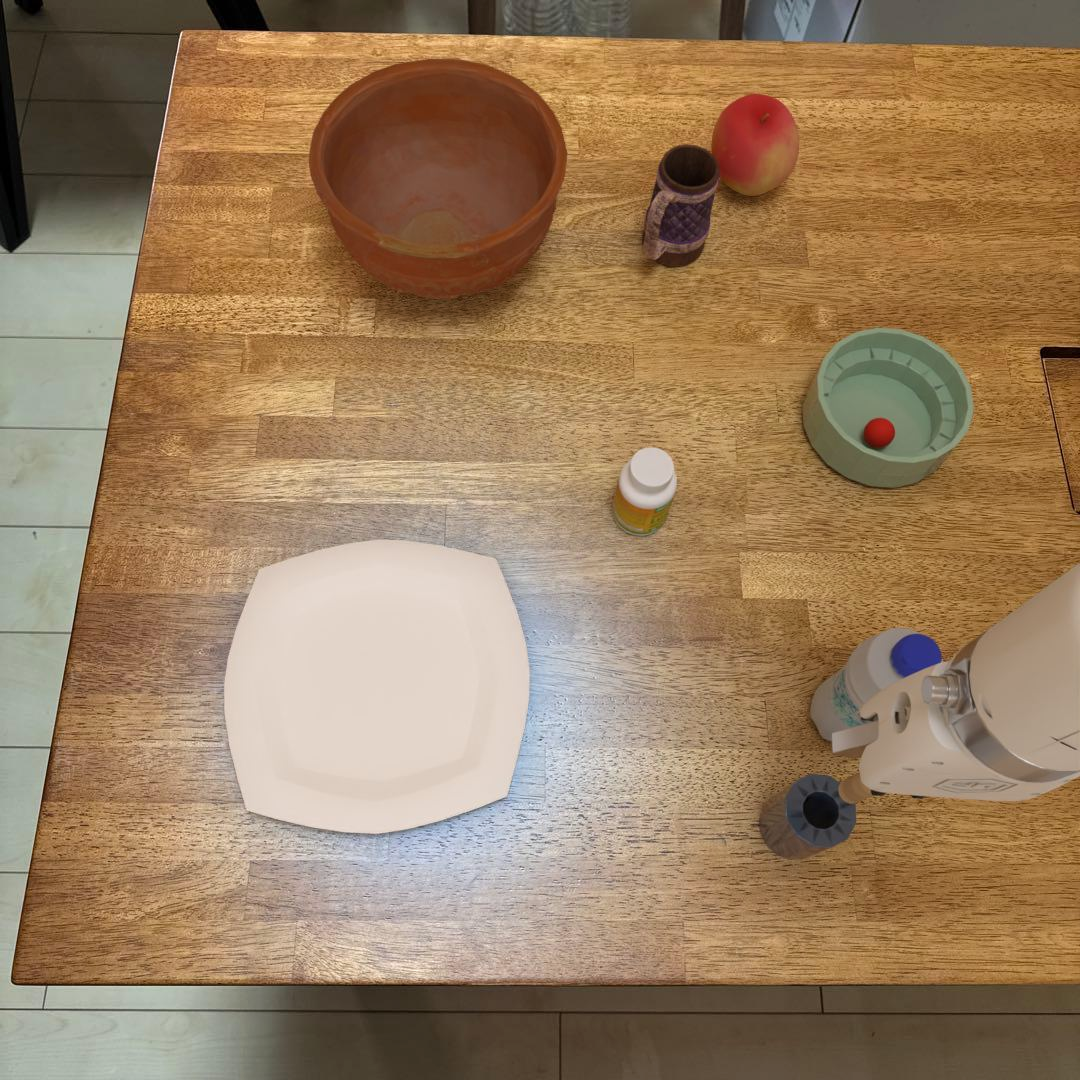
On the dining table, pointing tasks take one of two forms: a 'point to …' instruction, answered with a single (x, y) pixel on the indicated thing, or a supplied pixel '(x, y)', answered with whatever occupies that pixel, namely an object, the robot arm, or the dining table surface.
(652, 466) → the supplement bottle
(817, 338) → the dining table surface
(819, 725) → the bottle
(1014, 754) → the robot arm
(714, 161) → the mug
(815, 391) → the green round dish
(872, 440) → the red ball
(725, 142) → the apple
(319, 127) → the bowl
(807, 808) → the holder
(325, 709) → the plate
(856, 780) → the stick
